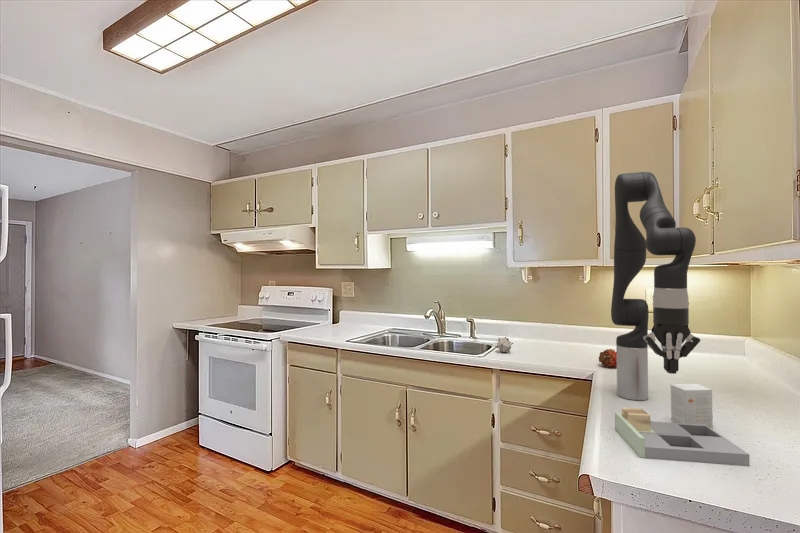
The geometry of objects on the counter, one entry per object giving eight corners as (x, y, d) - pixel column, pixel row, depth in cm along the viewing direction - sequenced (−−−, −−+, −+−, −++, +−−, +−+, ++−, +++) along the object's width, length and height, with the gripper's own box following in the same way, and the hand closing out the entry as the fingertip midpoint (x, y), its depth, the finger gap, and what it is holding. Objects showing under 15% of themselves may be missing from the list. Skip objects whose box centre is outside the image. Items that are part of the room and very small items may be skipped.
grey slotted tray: (614, 428, 108) (614, 411, 108) (705, 434, 104) (705, 416, 104) (640, 457, 91) (639, 438, 91) (749, 465, 87) (749, 445, 87)
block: (621, 422, 105) (621, 407, 106) (642, 423, 105) (642, 408, 105) (629, 430, 101) (628, 414, 101) (650, 431, 100) (650, 415, 100)
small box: (697, 419, 114) (696, 383, 114) (713, 427, 108) (713, 389, 108) (670, 420, 113) (669, 383, 113) (684, 428, 108) (684, 389, 108)
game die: (508, 360, 205) (516, 346, 200) (492, 354, 205) (500, 340, 200) (507, 348, 213) (515, 335, 207) (492, 343, 213) (500, 329, 207)
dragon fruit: (607, 373, 170) (608, 371, 180) (625, 363, 167) (625, 361, 178) (594, 356, 173) (596, 354, 184) (612, 345, 171) (612, 345, 181)
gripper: (691, 304, 104) (692, 369, 104) (636, 303, 106) (637, 368, 106) (708, 307, 96) (708, 378, 96) (648, 307, 99) (649, 376, 99)
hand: (670, 372), depth 101 cm, fingers closed
